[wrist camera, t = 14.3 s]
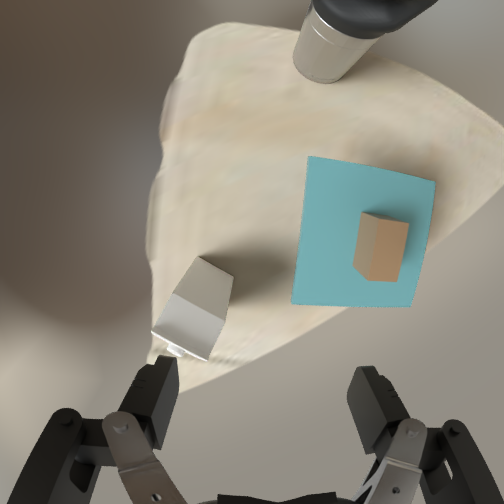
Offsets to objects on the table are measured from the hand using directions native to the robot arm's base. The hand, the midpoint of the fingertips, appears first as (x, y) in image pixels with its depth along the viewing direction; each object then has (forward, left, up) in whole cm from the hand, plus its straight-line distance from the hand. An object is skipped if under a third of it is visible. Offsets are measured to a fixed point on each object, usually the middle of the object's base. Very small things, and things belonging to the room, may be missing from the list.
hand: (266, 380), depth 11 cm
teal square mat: (-3, +12, -19) cm, 23 cm away
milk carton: (+10, -8, -34) cm, 37 cm away
